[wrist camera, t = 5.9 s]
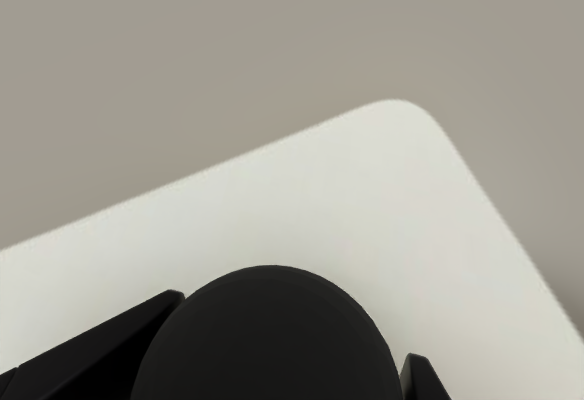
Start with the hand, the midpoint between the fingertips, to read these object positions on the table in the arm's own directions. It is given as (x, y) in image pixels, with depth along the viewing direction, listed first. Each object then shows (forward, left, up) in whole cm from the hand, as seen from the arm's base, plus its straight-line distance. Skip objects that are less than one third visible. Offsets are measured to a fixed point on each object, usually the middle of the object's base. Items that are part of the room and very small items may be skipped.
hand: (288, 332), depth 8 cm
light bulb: (-1, -1, -7) cm, 7 cm away
